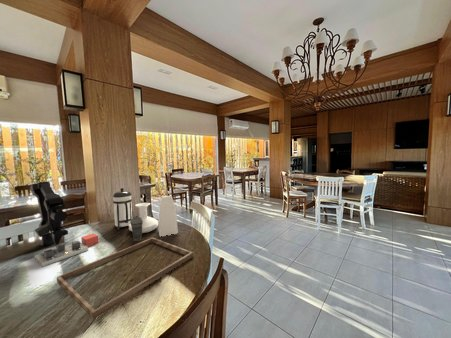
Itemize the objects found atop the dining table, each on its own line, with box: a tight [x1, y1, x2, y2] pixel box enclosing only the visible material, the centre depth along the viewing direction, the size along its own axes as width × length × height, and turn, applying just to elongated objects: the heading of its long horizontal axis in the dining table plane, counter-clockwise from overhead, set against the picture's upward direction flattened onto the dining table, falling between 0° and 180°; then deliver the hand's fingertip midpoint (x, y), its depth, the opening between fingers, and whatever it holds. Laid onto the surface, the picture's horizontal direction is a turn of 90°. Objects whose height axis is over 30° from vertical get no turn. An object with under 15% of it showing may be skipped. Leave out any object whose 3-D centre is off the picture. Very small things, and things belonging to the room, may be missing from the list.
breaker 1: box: [43, 248, 54, 258], centre depth 102 cm, size 3×3×3 cm
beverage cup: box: [131, 209, 143, 242], centre depth 126 cm, size 7×7×20 cm
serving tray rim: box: [56, 236, 194, 320], centre depth 94 cm, size 35×48×2 cm
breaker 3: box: [71, 240, 81, 249], centre depth 112 cm, size 3×3×3 cm
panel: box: [34, 242, 89, 268], centre depth 108 cm, size 13×20×2 cm, turn 146°
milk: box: [157, 195, 179, 238], centre depth 138 cm, size 12×12×26 cm
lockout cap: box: [80, 233, 99, 248], centre depth 121 cm, size 7×7×5 cm
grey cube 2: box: [55, 242, 66, 251], centre depth 109 cm, size 3×3×3 cm
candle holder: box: [128, 202, 159, 234], centre depth 142 cm, size 20×20×19 cm
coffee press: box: [112, 187, 133, 231], centre depth 149 cm, size 17×16×30 cm
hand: (56, 244), depth 113 cm, fingers closed
